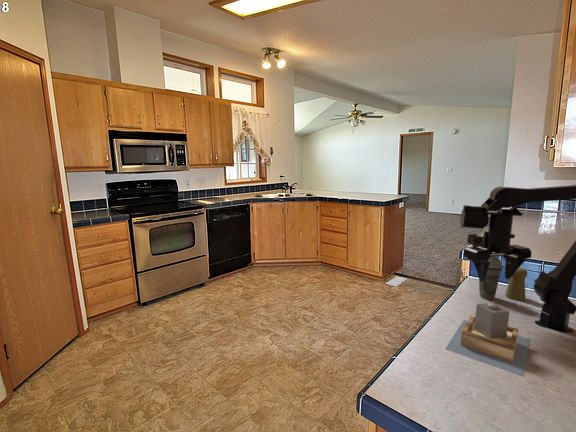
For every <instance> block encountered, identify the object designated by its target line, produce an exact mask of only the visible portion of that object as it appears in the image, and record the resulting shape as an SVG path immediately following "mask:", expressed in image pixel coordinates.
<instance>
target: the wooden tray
mask: <svg viewBox="0 0 576 432" xmlns="http://www.w3.org/2000/svg"><path fill="white" fill-rule="evenodd" d="M467 321H468V322H467V323H466V325H465V327H464V328H463V330H462V334H461V344H460V345H462V346H465V347H468V348H471V349H474V350H477V351H480V352H483V353H486V354H489V355H492V356H495V357H498V358H501V359H504V360H507V361H510V362H512V361H513V357H514V353H515V349H516V345H517V339H518V336H519V328H516V327H512V326H509V325H508V328H507V337H503V338H495V339H491V338H488V337H486V336H484V335H483V334H481V333H479V332H478V331H476V330H475V329H474V326H475V316H470V317H469V318H468V320H467Z"/></svg>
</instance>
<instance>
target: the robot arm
mask: <svg viewBox="0 0 576 432" xmlns="http://www.w3.org/2000/svg"><path fill="white" fill-rule="evenodd" d="M567 200H569V201H571V200H576V184H572V185H571V184H570V185H558V186H557V185H556V186H546V187H545V186H544V187H533V188H532V187H531V188H525V187H512V186H511V187H510V186H498V187H497V186H496V187H494V189H492V190H491V191H490V193H489V197H488V198H487V199H486V200H485V201H484V202H483V203H482V204H481V205H480V206H474V205H469V204H468V205H467V204H466V205H465V204H464V205H463V206H462V210H461V212H460V213H461V214H460V217H459V225H460V227H461V228H466V229H480V230H482V229H484V228H485V227H487V226H488V230H487V231H484V232H483V235H481V236H479V235H477V234H476V233H473V234H472V233H469V234H467V240H466V241H467V244H468V245H472V246H469V247H468V246H467V247H466V248H464V249H463V257H465V258H467V260H470V261H471V262H472V263H473V264H474V267H475V271H476V274H477V278H478V279H479V280H480V281H482V282H483V281H484V279H485V276H486V273H487V270H488V267H489V264H490V262H489V261H488V260H489V259H490V256H496V257H497V256H498V257H500V256H503V259H504V260H505V271H504V277H505V279H506V280H510V278H511V277H512V275H513V274H514V273H515V272H516V270H517V269H518V268H519V267H520V268H521V266H522V265H523V264H524V263H525V262H527V261H528V259H531V258H532V250H531V248H529V247H526V246H524V245H523V246H522V245H518V244H511V240H512V239H515V238H516V237H515V235H516V234H514V233H512V231H513V222H514V217H515V216H518V217H520V216H523V213H522V212H521V211H520V210H519V209H518V208H517V207H518V206H522V205H525V204H530V203H535V202H536V203H537V202H549V201H553V202H554V201H567ZM575 277H576V240H575V241H574V242H572V245H571V246H570V248H568V250H567V251H566V253H565V254H564V256H562V258H561V260H560V261H559V262H558V264H557V265H556V266H555V268H554V269H553V270H550V271H549V272H545V271H544V270H541V272H539V275H538V277H536V279H535V280H533V282H534V285H533V291H534V292H535V294H536V295H537V296H538V297H539V299H540V301H541V302H543V304H542V305H541V306H542V307H541V310H540V316H539V320H535V321H534V323H535V324H536V325H539V326H541V327H543V328H545V329H550V330H553V331H557V332H560V333H569V332H574V328H572V327H570V326H569V323H570V315H575V313H576V305H575V304H574V303H573V302H572V301H571V300H570V299H569V297H570V295H571V293H572V290H573V283H574V279H575Z"/></svg>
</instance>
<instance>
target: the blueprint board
mask: <svg viewBox="0 0 576 432" xmlns="http://www.w3.org/2000/svg"><path fill="white" fill-rule="evenodd" d="M467 322H468V320H464V319H463V320H462V321H461V323H460V325H459V326H458V329H457V330H456V332H455V333H454V335H453V336H452V338H451V339H450V341H449V342H448V344H447V346H446V347H445V350H446V351H450V352H451V353H452V352H453V353H456V354H458V355H461V356H464V357H467V358H469V359H473V360H475V361H478V362H481V363H484V364H487V365H490V366H493V367H495V368H499V369H501V370H503V371H507V372H510V373H512V374H515V375H518V376H522V377H524V375H525V371H526V367H527V359H528V355H529V354H528V353H529V347H530V343H531V338H528V337H525V336H521V335H518V339H517V345H516V349H515V353H514V357H513V361H512V362H510V361H507V360H504V359H501V358H498V357H495V356H492V355H489V354H486V353H483V352H480V351H477V350H474V349H471V348H468V347H465V346H462V345H460V344H461V334H462V330H463V328H464V327H465V325H466V323H467Z"/></svg>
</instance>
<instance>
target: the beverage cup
mask: <svg viewBox="0 0 576 432" xmlns="http://www.w3.org/2000/svg"><path fill="white" fill-rule="evenodd" d="M488 261H489V262H490V264H489V267H488V270H487V273H486V276H485V279H484V281H483V282H482V281H480V280H479V281H478V282H479V285H478V287H479V288H478V289H479V290H478V291H479V297H480V298H481V299H484V300H488V301H494V300H495V298H496V297H495V296H496V294H497V290H498V286H499V285H498V283H499V282H500V280H499V279H500V276H501V273H502V271H503V264H502V261H501V260H500V259H499V258H498V257H497V256H490V259H489V260H488Z"/></svg>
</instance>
